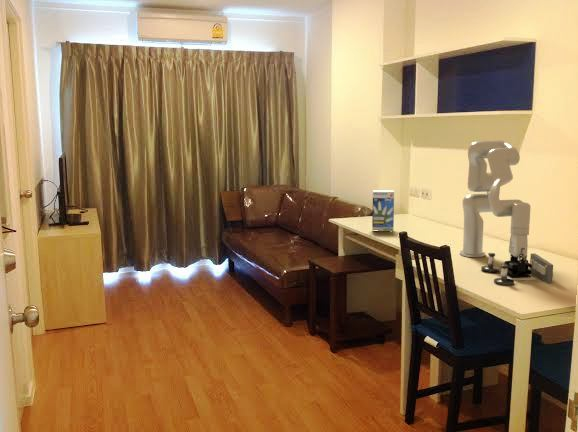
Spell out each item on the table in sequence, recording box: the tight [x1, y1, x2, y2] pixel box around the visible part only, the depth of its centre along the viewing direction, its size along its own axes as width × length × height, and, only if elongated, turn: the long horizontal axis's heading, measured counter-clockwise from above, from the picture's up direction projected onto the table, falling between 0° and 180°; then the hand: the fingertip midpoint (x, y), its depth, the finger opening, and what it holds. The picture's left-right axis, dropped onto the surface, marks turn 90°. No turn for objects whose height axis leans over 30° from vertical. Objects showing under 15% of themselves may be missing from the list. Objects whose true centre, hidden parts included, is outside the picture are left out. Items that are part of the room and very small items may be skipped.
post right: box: [493, 263, 515, 287], centre depth 235 cm, size 8×8×8 cm
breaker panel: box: [529, 253, 554, 284], centre depth 243 cm, size 20×3×8 cm, turn 177°
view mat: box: [499, 272, 537, 281], centre depth 244 cm, size 10×12×1 cm
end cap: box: [503, 259, 533, 278], centre depth 243 cm, size 10×7×7 cm
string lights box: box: [371, 189, 395, 232], centre depth 346 cm, size 13×8×26 cm, turn 76°
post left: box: [480, 252, 501, 273], centre depth 253 cm, size 8×8×8 cm
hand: (517, 268), depth 244 cm, fingers open, 9 cm apart
